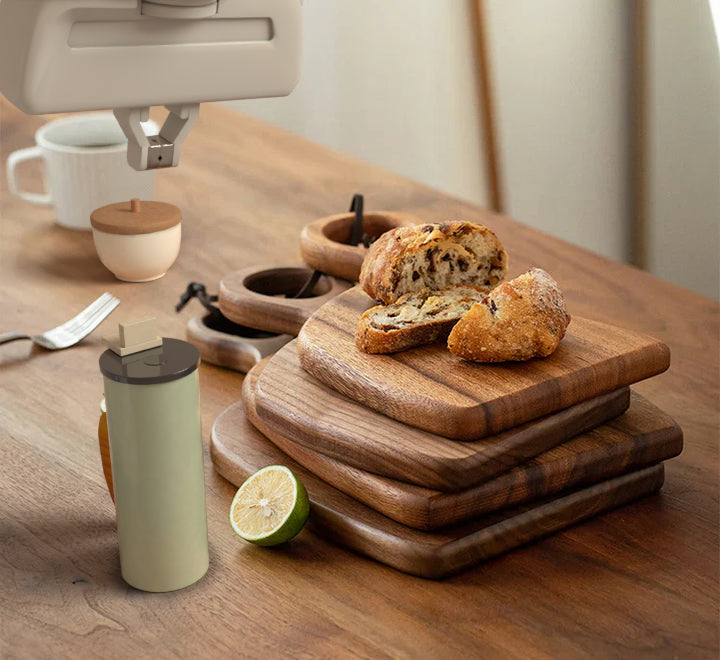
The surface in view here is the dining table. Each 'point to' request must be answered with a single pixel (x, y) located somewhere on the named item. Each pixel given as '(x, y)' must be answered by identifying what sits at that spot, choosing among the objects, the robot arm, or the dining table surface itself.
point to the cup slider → (133, 336)
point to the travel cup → (157, 464)
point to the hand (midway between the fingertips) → (152, 166)
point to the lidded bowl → (137, 238)
